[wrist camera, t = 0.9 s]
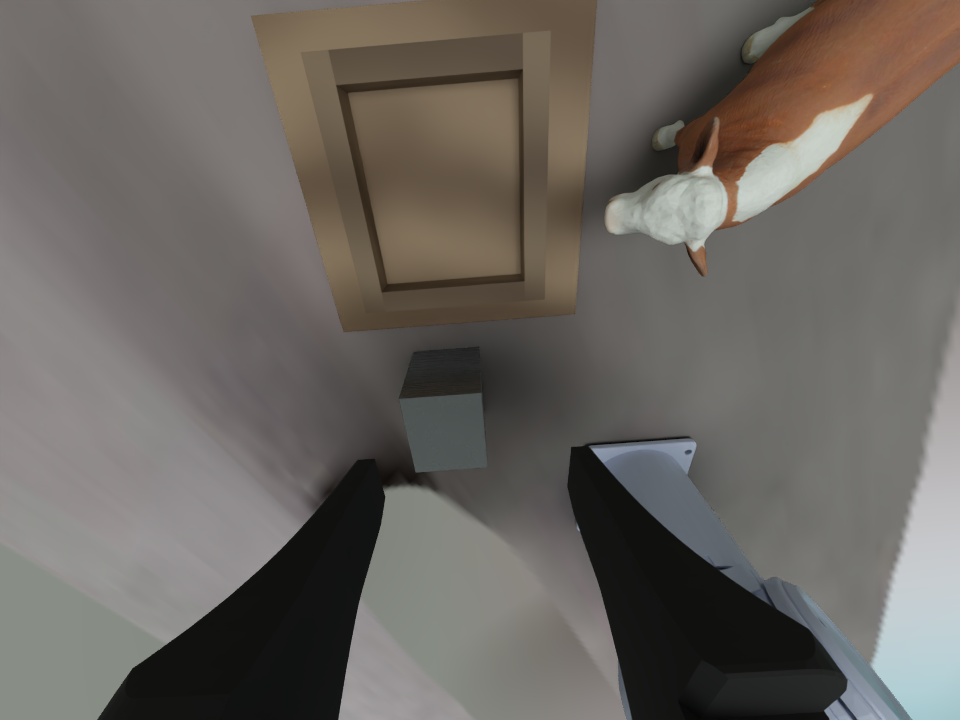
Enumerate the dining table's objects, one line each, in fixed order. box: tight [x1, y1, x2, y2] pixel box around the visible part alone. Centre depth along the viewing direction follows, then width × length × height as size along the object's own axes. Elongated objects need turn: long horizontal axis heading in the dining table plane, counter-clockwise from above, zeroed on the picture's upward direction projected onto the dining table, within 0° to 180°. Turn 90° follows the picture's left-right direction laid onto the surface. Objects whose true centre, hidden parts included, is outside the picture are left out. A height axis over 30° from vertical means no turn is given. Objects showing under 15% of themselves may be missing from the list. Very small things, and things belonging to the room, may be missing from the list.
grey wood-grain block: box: [399, 347, 488, 472], centre depth 20 cm, size 5×4×5 cm
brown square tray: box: [251, 0, 597, 332], centre depth 15 cm, size 13×13×2 cm
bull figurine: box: [604, 0, 960, 276], centre depth 12 cm, size 4×13×8 cm, turn 129°
